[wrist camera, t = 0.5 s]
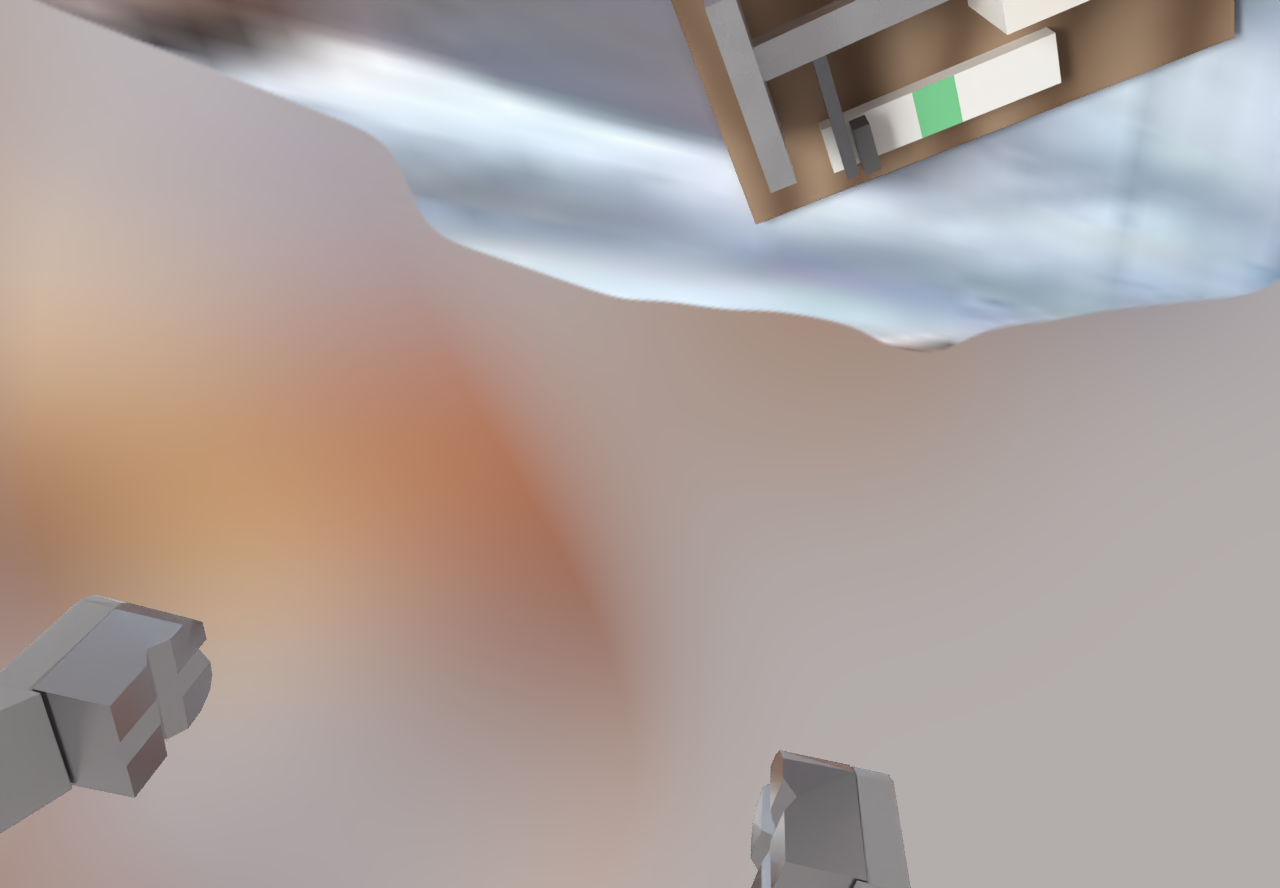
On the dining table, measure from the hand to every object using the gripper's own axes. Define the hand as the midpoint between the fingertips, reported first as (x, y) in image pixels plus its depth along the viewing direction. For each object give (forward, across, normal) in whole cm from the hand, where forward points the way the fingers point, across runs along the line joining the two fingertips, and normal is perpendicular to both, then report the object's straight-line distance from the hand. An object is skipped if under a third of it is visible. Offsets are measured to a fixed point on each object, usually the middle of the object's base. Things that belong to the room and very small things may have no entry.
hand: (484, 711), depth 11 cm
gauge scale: (+50, -14, -4) cm, 52 cm away
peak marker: (+48, -10, -1) cm, 49 cm away
